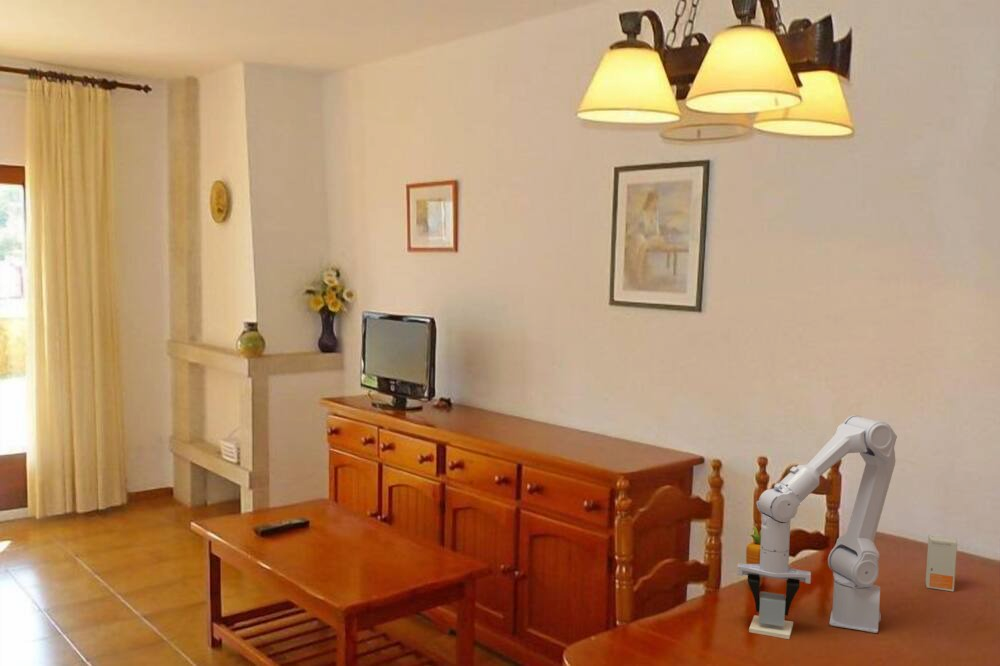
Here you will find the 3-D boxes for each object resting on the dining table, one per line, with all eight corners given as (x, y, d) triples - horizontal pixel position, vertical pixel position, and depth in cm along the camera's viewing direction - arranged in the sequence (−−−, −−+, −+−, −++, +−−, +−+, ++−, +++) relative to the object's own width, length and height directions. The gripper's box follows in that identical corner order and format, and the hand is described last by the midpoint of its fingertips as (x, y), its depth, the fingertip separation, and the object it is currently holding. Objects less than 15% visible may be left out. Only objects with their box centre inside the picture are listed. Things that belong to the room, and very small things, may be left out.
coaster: (793, 625, 188) (793, 621, 188) (789, 639, 180) (789, 635, 180) (754, 618, 191) (754, 615, 191) (749, 632, 183) (749, 628, 183)
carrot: (767, 595, 205) (770, 531, 204) (745, 593, 206) (748, 530, 205) (765, 588, 210) (768, 526, 209) (743, 586, 211) (746, 524, 210)
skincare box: (926, 588, 212) (929, 539, 212) (925, 583, 216) (927, 534, 216) (954, 592, 210) (957, 542, 209) (953, 586, 214) (955, 538, 213)
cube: (783, 617, 187) (785, 594, 187) (784, 626, 182) (785, 602, 182) (759, 614, 189) (760, 591, 188) (758, 622, 184) (760, 599, 184)
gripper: (810, 546, 186) (807, 609, 187) (739, 539, 190) (736, 601, 191) (812, 556, 179) (809, 622, 180) (738, 548, 184) (735, 612, 184)
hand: (771, 612), depth 185 cm, fingers closed on cube, 5 cm apart
